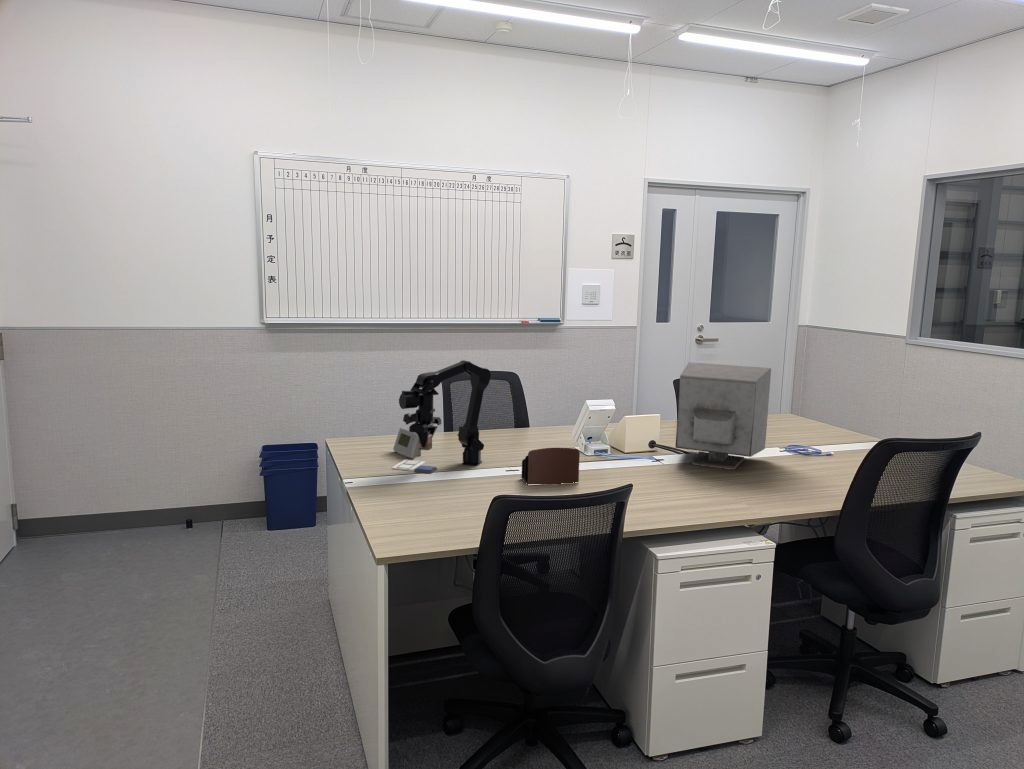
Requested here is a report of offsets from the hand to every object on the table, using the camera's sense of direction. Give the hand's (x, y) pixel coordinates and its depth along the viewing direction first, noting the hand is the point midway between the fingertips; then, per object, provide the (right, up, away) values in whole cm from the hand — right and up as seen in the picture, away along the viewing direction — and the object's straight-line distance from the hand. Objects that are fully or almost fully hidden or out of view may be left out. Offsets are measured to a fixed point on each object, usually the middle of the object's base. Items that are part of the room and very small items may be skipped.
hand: (425, 446), depth 287 cm
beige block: (0, -1, 0) cm, 1 cm away
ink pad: (0, -10, +2) cm, 10 cm away
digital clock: (-11, -6, +26) cm, 29 cm away
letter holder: (+48, -13, -8) cm, 50 cm away
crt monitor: (+120, -9, +25) cm, 123 cm away
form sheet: (-8, -9, +8) cm, 14 cm away
